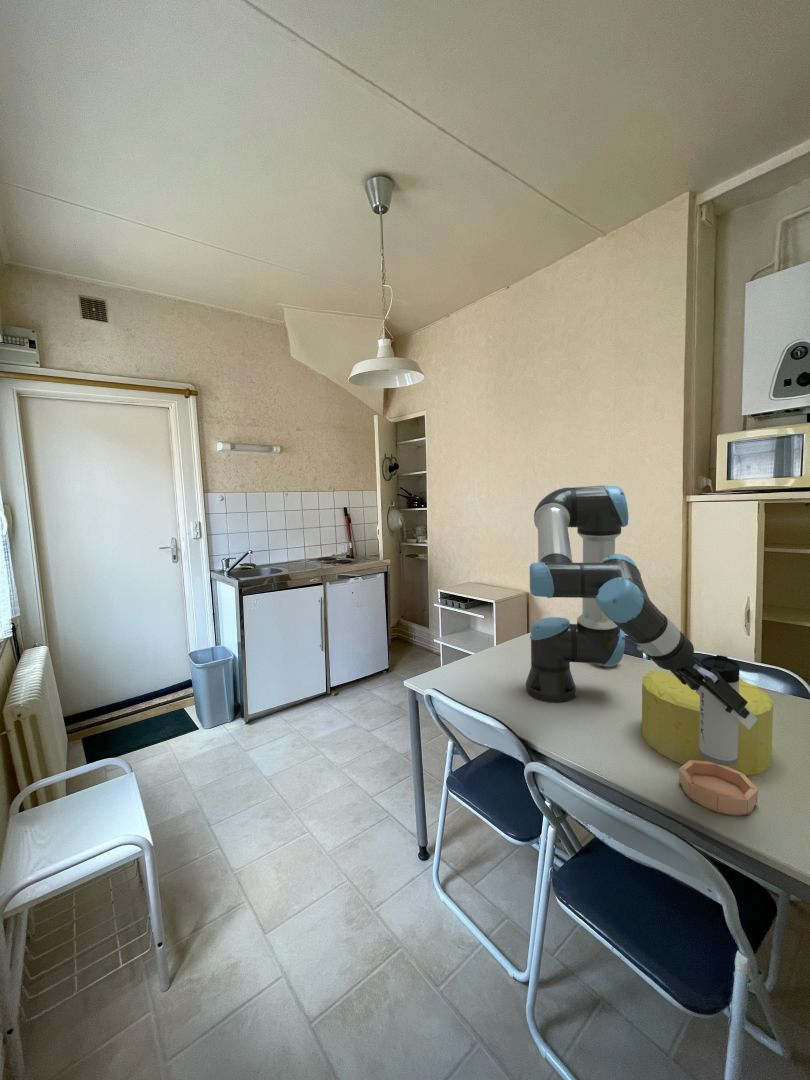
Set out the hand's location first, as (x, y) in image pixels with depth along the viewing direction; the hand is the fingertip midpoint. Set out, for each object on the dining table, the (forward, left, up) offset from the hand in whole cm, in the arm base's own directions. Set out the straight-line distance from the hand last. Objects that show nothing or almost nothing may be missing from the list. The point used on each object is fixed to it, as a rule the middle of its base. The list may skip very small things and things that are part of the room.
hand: (735, 714), depth 86 cm
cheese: (+2, +19, -17) cm, 26 cm away
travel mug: (-3, -1, -9) cm, 9 cm away
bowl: (-3, -1, -17) cm, 17 cm away
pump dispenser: (-8, +69, -17) cm, 72 cm away
